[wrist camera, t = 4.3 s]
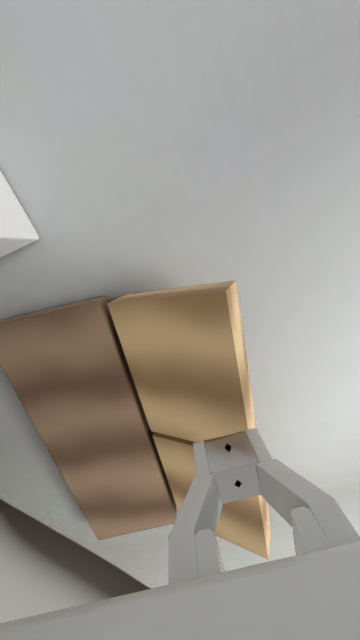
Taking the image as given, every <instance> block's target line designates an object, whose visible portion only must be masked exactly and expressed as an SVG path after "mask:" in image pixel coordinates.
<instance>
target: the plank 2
mask: <svg viewBox="0 0 360 640" xmlns="http://www.w3.org/2000/svg"><path fill="white" fill-rule="evenodd" d="M153 439H154V441H155V444H156V447H157V450H158V453H159V456H160V459H161V462H162V465H163V468H164V471H165V473H166V476H167V479H168V482H169V485H170V488H171V491H172V494H173V497H174V500H175V503H176V506H177V508H178V511H180V509H181V506H182V504H183V502H184V500H185V497H186V495H187V493H188V490H189V488H190V486H191V484H192V481H193V479H194V478H196V477H197V472H196V465H195V458H194V450H193V443H195V442H193V441H189V440H185V439H181V438H177V437H173V436H169V435H165V434H161V433H157V432H154V434H153ZM215 536H218V537H220V538H222V539H224V540H226V541H229V542H231V543H233V544H235V545H238V546H240V547H242V548H244V549H246V550H249V551H251V552H253V553H255V554H257V555H260V556H262V557H264V558H266V559H268V560H269V548H270V536H271V527H270V520H269V513H268V506H267V501H266V500H265V499H264V498H263V497H262V495H259V496H254V497H249V498H244V499H240V500H236V501H232V502H229V503H225V504H222V509H221V513H220V518H219V522H218V526H217V530H216V535H215Z"/></svg>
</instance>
